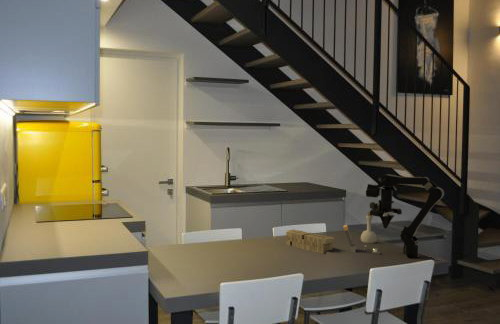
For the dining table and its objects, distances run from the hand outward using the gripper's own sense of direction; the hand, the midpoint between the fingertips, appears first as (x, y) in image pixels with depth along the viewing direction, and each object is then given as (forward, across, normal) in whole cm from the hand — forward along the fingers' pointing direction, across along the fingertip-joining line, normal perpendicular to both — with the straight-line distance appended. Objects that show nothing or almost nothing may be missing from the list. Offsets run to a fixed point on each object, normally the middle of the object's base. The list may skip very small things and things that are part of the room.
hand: (385, 228), depth 270 cm
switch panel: (+13, +10, -4) cm, 17 cm away
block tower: (+14, +27, -28) cm, 42 cm away
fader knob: (+12, +6, -7) cm, 15 cm away
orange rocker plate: (+10, +14, -8) cm, 20 cm away
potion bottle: (+13, -10, -20) cm, 26 cm away
